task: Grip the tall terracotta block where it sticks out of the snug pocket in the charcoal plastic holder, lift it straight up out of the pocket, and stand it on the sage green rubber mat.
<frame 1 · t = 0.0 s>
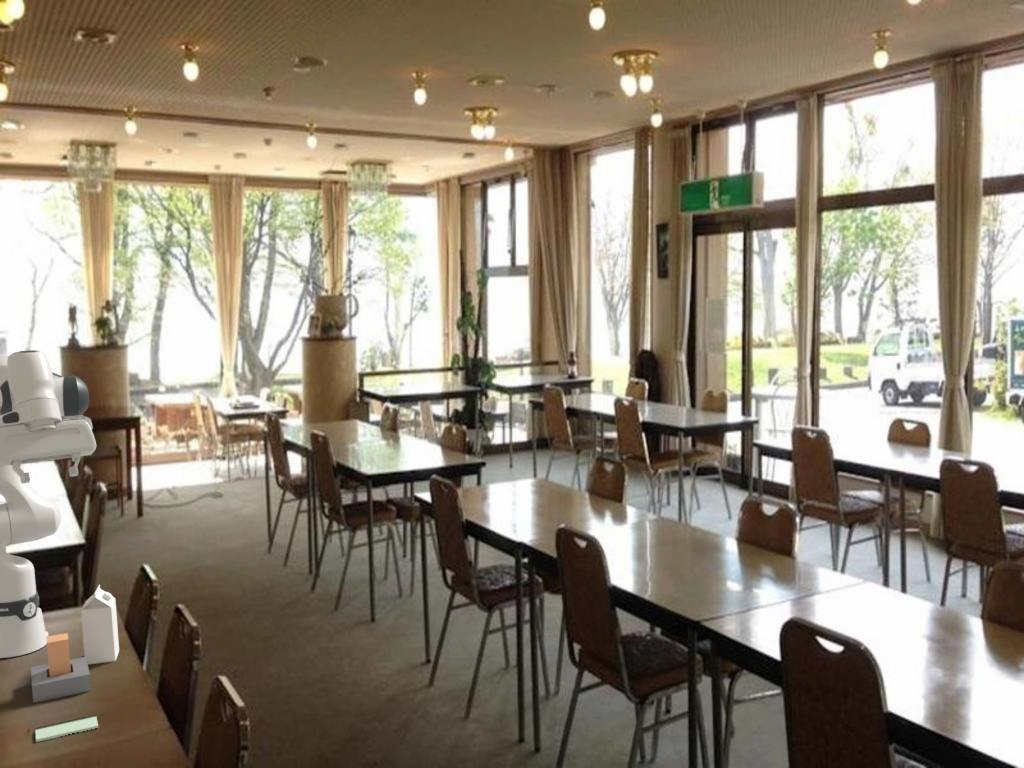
hand: (50, 478, 196), 54 cm above the table, tool tilted 30°, fingers open, 8 cm apart
holder: (61, 690, 218), on the table
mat: (65, 719, 203), on the table
milk carton: (102, 661, 235), on the table
block: (61, 686, 218), point 1 cm above the table, touching holder
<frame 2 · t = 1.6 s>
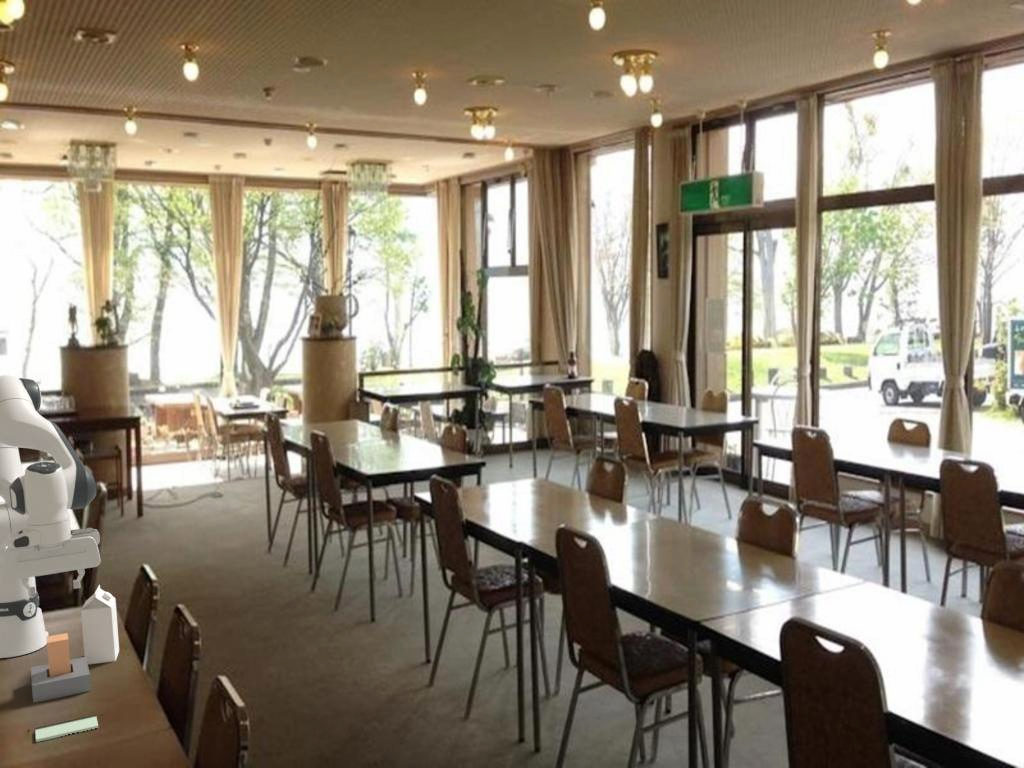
hand: (55, 591, 214), 25 cm above the table, tool pointing down, fingers open, 8 cm apart
nothing on the table moved.
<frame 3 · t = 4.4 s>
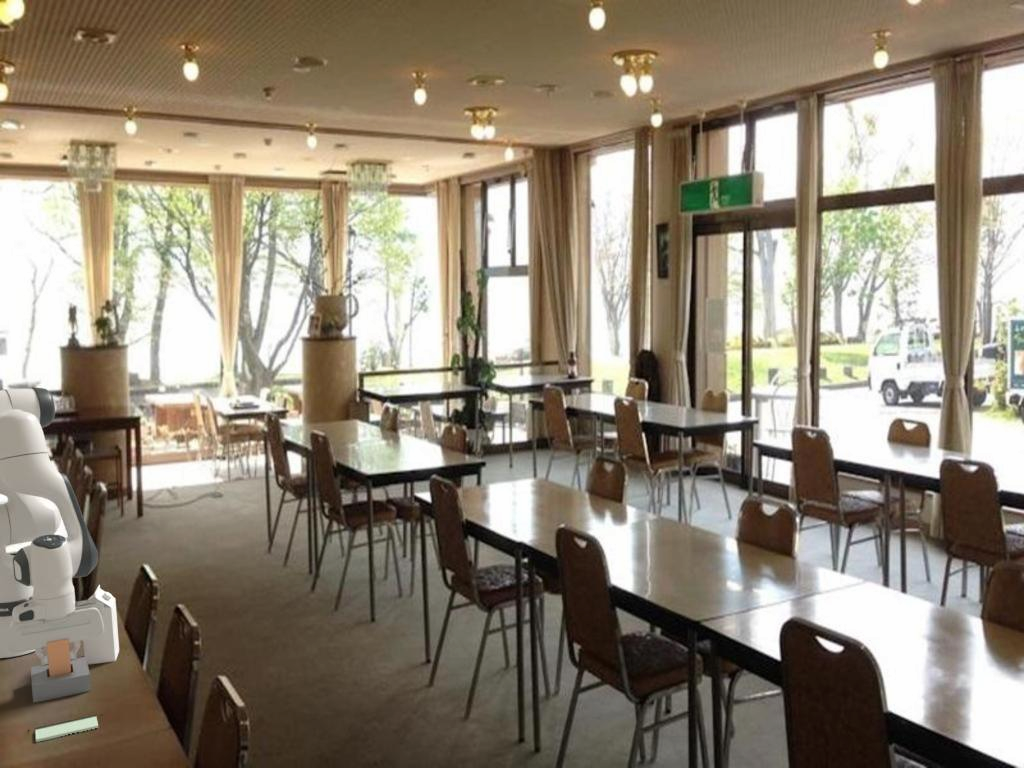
hand: (59, 662, 217), 7 cm above the table, tool pointing down, fingers closed on block, 4 cm apart
block: (61, 686, 218), point 1 cm above the table, touching gripper, holder
everything else where it was.
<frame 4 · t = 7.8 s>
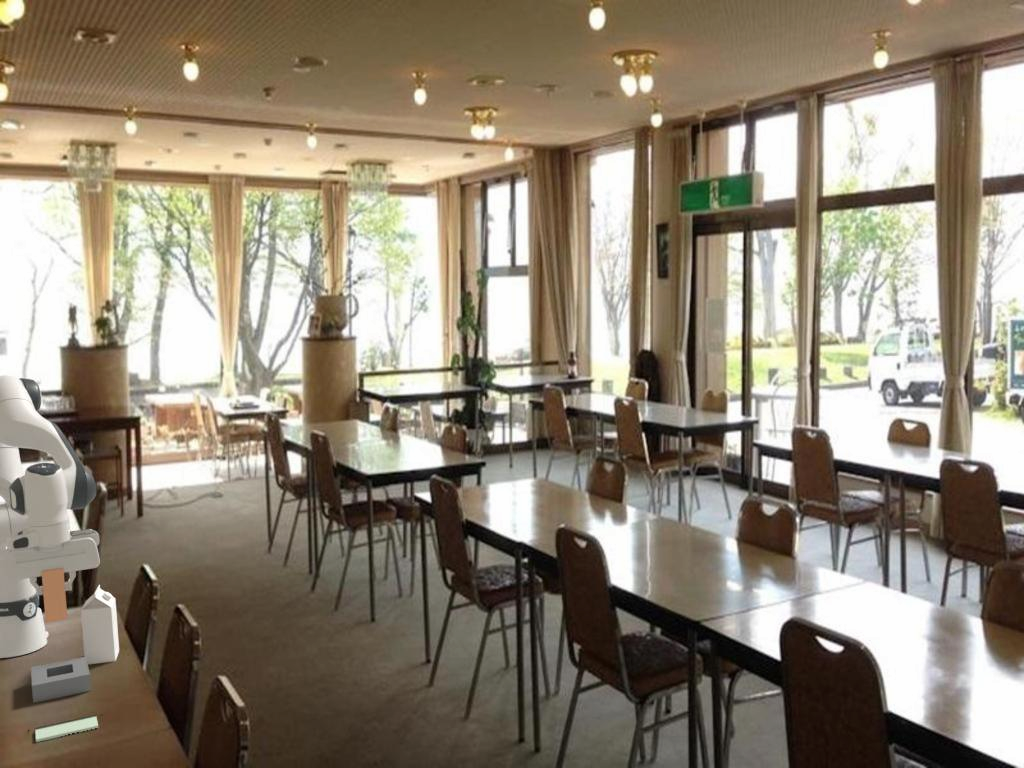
hand: (54, 592, 214), 24 cm above the table, tool pointing down, fingers closed on block, 4 cm apart
block: (56, 617, 215), point 18 cm above the table, touching gripper
everything else where it was.
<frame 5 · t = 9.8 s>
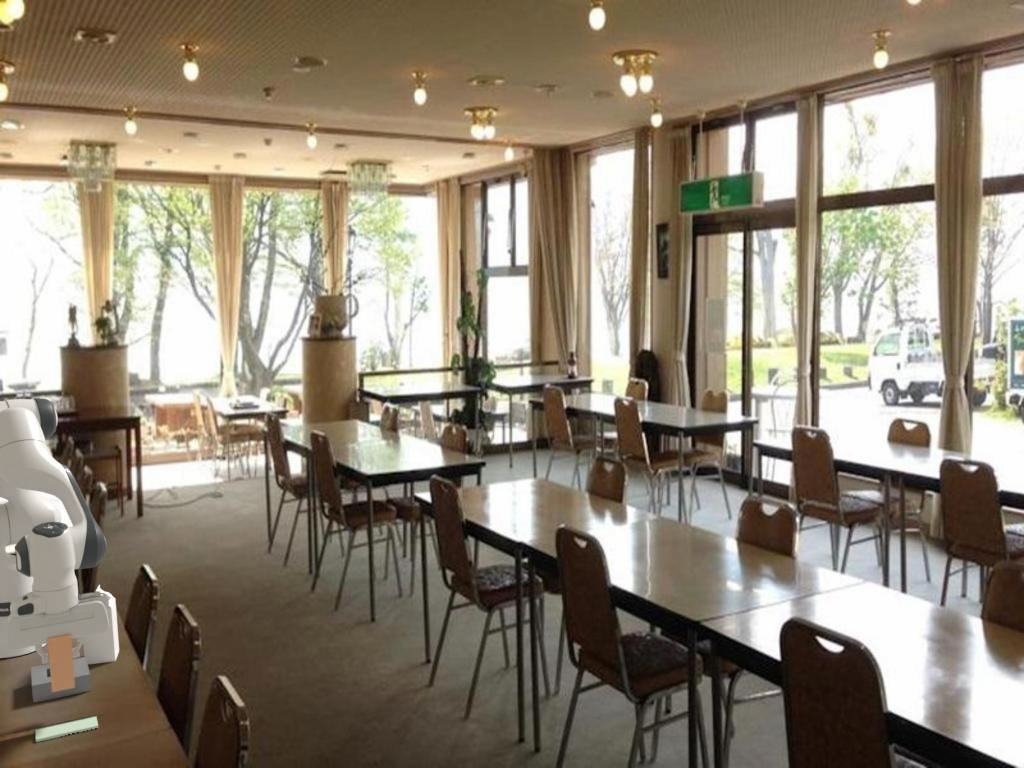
hand: (60, 659, 202), 14 cm above the table, tool pointing down, fingers closed on block, 4 cm apart
block: (63, 686, 202), point 8 cm above the table, touching gripper
everything else where it was.
when the fingers open (8 cm above the table, at t = 11.3 s): block drops 2 cm, resting on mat.
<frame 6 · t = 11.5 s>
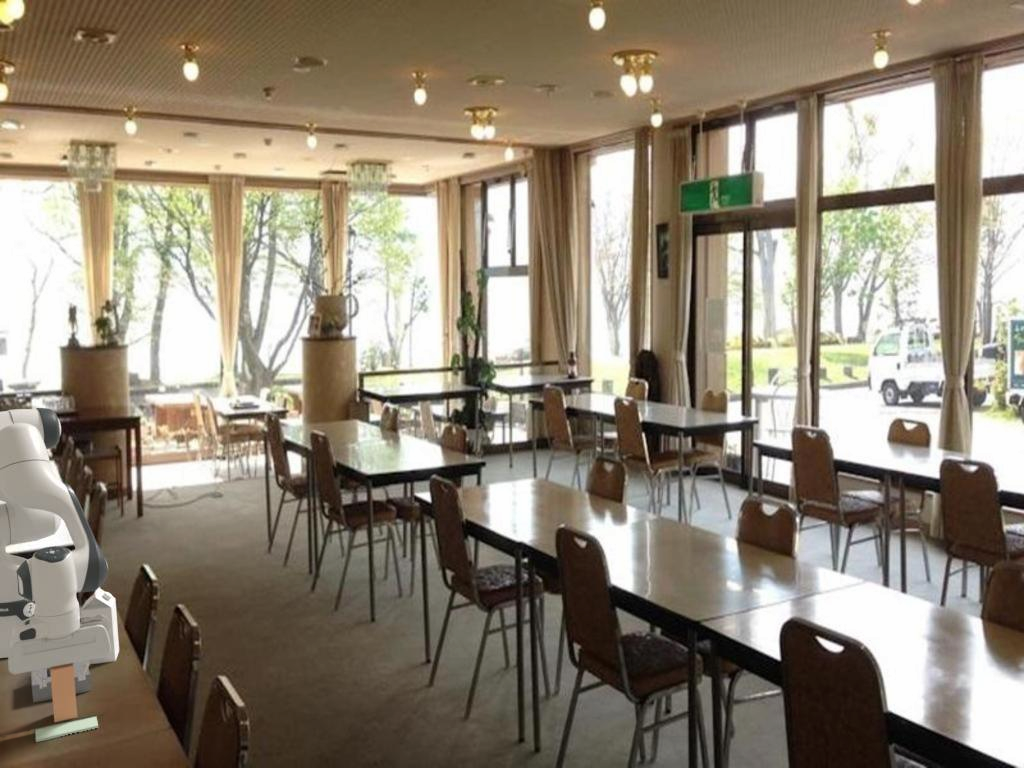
hand: (62, 683, 202), 8 cm above the table, tool pointing down, fingers open, 6 cm apart
block: (65, 717, 203), point 1 cm above the table, touching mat
everything else where it was.
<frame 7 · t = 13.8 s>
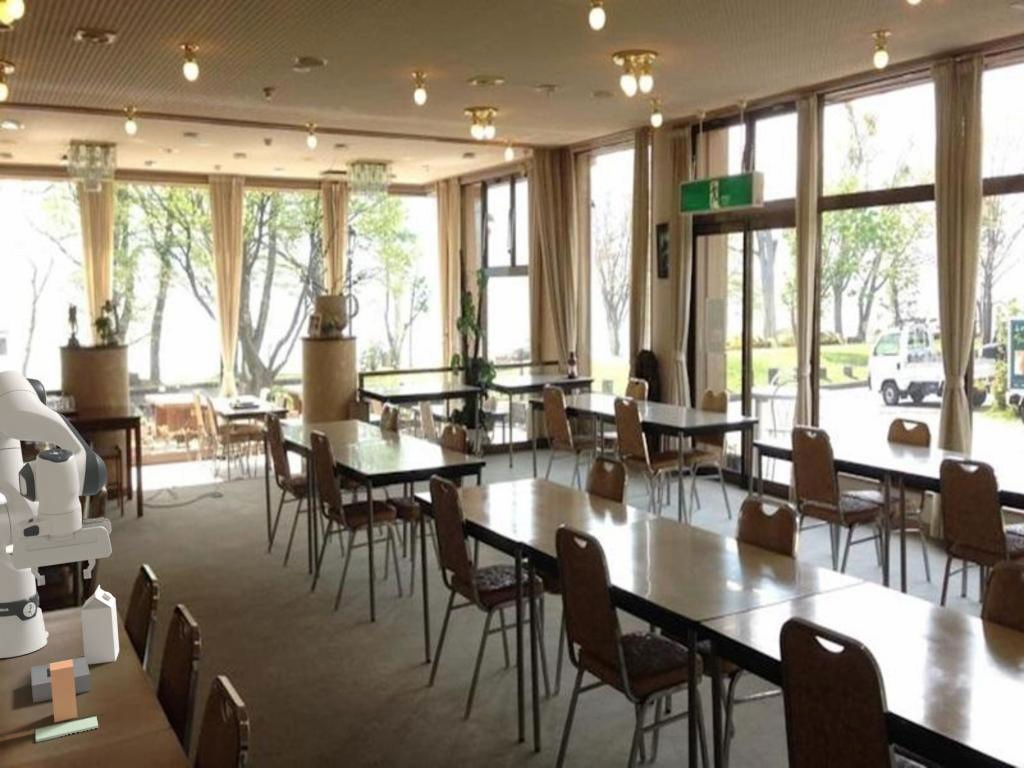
hand: (64, 581, 209), 28 cm above the table, tool pointing down, fingers open, 8 cm apart
nothing on the table moved.
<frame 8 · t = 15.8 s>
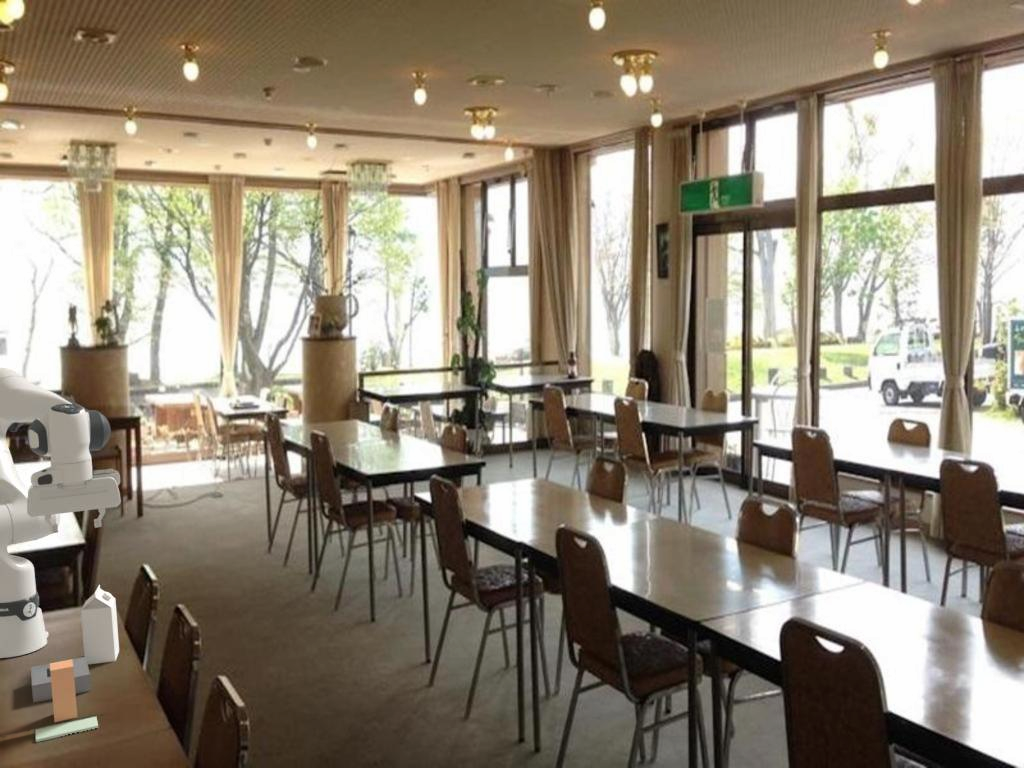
hand: (76, 529, 221), 37 cm above the table, tool pointing down, fingers open, 8 cm apart
nothing on the table moved.
at the end: block inside the target area on the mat (0.0 cm from its centre), point 0.6 cm above the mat's base; block tilted 0°; the gripper is holding nothing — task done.
